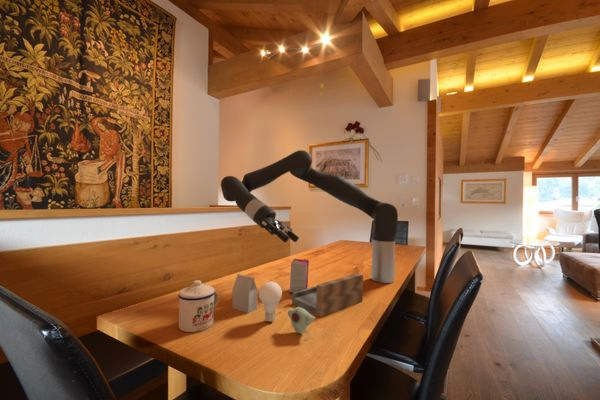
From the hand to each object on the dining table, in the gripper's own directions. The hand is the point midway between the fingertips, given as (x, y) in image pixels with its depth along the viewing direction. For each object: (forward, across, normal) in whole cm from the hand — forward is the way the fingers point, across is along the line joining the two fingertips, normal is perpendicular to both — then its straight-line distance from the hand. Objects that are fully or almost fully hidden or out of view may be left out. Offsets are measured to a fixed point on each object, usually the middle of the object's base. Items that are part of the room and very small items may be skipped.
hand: (292, 240), depth 93 cm
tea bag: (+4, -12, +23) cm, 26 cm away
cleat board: (+21, +4, +10) cm, 23 cm away
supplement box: (+10, +9, +16) cm, 21 cm away
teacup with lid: (0, -24, +28) cm, 37 cm away
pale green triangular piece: (+22, -19, +13) cm, 32 cm away
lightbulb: (+14, -16, +18) cm, 28 cm away
